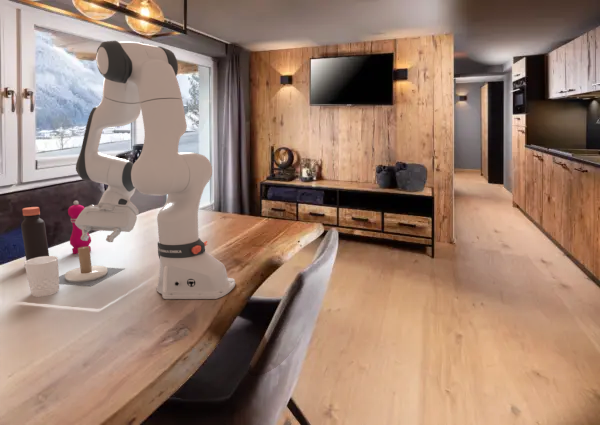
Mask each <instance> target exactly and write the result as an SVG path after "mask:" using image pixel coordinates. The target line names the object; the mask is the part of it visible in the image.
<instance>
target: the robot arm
mask: <svg viewBox="0 0 600 425" xmlns="http://www.w3.org/2000/svg"><path fill="white" fill-rule="evenodd" d="M95 58H96V59H95V60H96V67H97V70H98V72H99V73H100V74H101V76H102V77H104V78H103V88H102V98H101V102H99V104H98V105H96V106H94V107H93V108H92V109H91V111H90V113H89V116H88V118H87V123H86V126H85V130H84V134H83V135H84V136H83V139H82V143H81V148H80V152H79V155H78V158H77V161H76V163H75V164H76V165H75V171H76V173H77V174H78V176H79V177H80V179H82V181H86V182H92V183H99V184H103V185H107V188H106V190H105V191H104V192H103V194H102V196H101V197H100V200H99V202H98V203H97V204H90V205H88V206H84V207H85V208H84V209H83V210H82V212H81V213H80V214H79V216H78V217H77V219H76V221H75V225H76V226H77V227H78V228H79V229H81V230H82V236H81V239H82V240H83V241H88V239H89V236H88V235H87V232H88V233H90V231H102V232H104V231H105V232H111V233H110V234H107V236H106V237H105V238H106V239H105V241H106V242H108V243H113V242H114V240H115V238H117V237H118V236H119V235H120V234H121V233H123V232H124V233H130V232H131V231H133V230H134V228H135V225H136V223H137V220H138V218H137V216H138V215H139V212H140V211H139V209H138V208H137V206H136V205H135V204H134V203H133V202H132V201H131V197H133V195H134V194H135V192H136V190H137V192H139V193H140V194H142V195H145V196H160V197H161V196H166V195H167V198H166V201H165V203H164V205H163V206H162V207H161V209H160V210H159V211H158V213H157V215H156V223H157V234H158V241H157V255H158V259H159V271H158V272H159V274H158V275H159V276H158V282H157V287H156V291H157V292H158V293H159V294H161V295H162V299H165V300H215V299H216V300H217V299H220V298H222V297H224V296H227V294H229V293H231V291H232V290H233V289H234V288H235V286H236V280H235V278H233V277H232V278H231V277H228V271H227V269H226V266H225V265H224V263H223V262H221V261H220V260H218V259H217V258H215V257H214V256H213V255H212V254H210V253H209V252H208V251H206V246H207V245H208V241H207V240H206V241H204V242H203V241H202V240H201V238H200V234H199V209H200V202H201V198H202V195H203V192H204V190H205V187H206V186H207V184H209V182H210V180H211V178H212V175H213V166H212V163H211V161H210V160H209V158H208V157H206V156H205V155H203V154H200V153H197V152H192V151H188V152H187V151H185V152H179V144H180V140H181V137H182V136H183V135H184V134H185V133H186V131H187V119H186V114H185V113H186V112H185V107H184V103H183V102H184V101H183V97H182V92H181V87H180V84H179V81H178V77H177V75H178V72H179V65H178V64H179V63H178V59H177V58H176V54H175V53H174V52H173V51H172V49H169V48H166V47H163V46H156V45H152V44H147V43H140V42H136V41H118V40H106V41H102V42H101V43H100V44H99V45H98V48H97V49H96V56H95ZM140 114H141V116H142V122H143V123H142V124H143V129H144V139H143V146H142V149H141V153H140V155H139V156H138V158H137V159H136V160H135V162H134V163H133V162H132V161H130V160H128V159H125V158H120V157H116V156H111V155H109V154H108V155H107V154H104V153H101V152H100V151H99V146H100V142H101V138H102V133H103V130H104V129H107V128H114V127H115V128H116V127H124V126H126V125H129V124H132V123H134V122H135V121H136V120H137V119H138V118H139V117H140Z"/></svg>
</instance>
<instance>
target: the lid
mask: <svg viewBox="0 0 600 425" xmlns="http://www.w3.org/2000/svg"><path fill="white" fill-rule="evenodd" d="M77 254H78V259H79V260H78V261H79V267H77V268H73V269H71V270H69V271H67V272H66V273H64V274H65V280H66V281H69V282H85V281H91V280H95V279H98V278H101V277H103V276H105V275H107V273H108V270H107V267H106V266H104V265H92V259H91V257H92V256H91V251H90V248H89V247H87V246H86V247H80V248H78V253H77Z"/></svg>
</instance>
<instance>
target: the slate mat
mask: <svg viewBox="0 0 600 425" xmlns="http://www.w3.org/2000/svg"><path fill="white" fill-rule="evenodd" d="M107 270H108V273H107V275H105V276H103V277H101V278H98V279H95V280H91V281H85V282H69V281H66V280H65V273H64V274H62V275H59V285H67V286H78V287H79V286H80V287H93V286H95V285H97V284H99V283H100V282H102V281H104V280H107V279H108V278H110V277H112V276H114V275H117V274H118V273H120V272H122V271H123V270H125V268H121V267H120V268H119V267H107Z"/></svg>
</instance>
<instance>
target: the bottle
mask: <svg viewBox="0 0 600 425" xmlns="http://www.w3.org/2000/svg"><path fill="white" fill-rule="evenodd" d="M21 211H22V216H23V218H24V220H23V221H22V222H21V223H20V227H21V234H22V240H23V241H22V242H23V246H24V247H23V248H24V254H25V259H26V260H25V261H27V260H29V259H33V258H37V257H43V256H50V253H49V245H48V239H47V238H48V236H47V229H46V223H45V220H43V219H42V218H40V216H41V211H40V207H39V206H31V207H30V206H29V207H23V208H22V209H21Z"/></svg>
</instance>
